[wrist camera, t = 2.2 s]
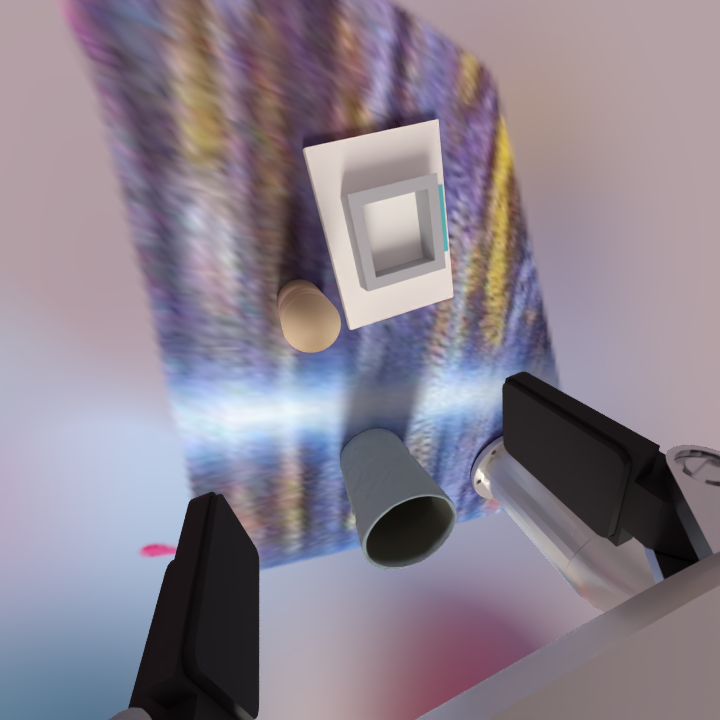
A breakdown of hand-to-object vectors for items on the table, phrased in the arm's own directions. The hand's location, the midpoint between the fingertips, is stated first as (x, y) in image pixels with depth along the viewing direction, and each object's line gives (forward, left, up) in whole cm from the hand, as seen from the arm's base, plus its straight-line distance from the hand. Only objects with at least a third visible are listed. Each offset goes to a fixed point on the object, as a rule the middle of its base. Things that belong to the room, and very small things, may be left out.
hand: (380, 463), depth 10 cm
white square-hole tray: (-10, -4, -23) cm, 26 cm away
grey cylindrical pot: (-3, +22, -24) cm, 32 cm away
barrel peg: (0, 0, -23) cm, 23 cm away
